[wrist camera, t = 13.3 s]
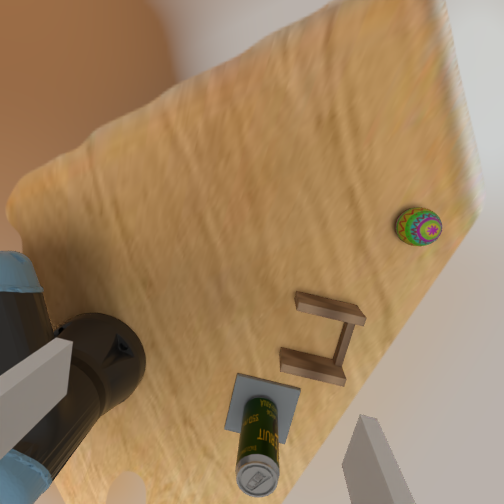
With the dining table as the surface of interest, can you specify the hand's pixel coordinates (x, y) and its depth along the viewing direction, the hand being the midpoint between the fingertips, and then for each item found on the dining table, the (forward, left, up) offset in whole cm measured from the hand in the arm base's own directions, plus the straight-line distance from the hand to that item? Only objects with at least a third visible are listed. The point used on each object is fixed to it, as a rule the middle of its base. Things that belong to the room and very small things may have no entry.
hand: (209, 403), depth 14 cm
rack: (+12, -9, -31) cm, 34 cm away
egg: (+20, +9, -31) cm, 38 cm away
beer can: (+7, -24, -30) cm, 39 cm away
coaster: (+7, -24, -31) cm, 40 cm away
